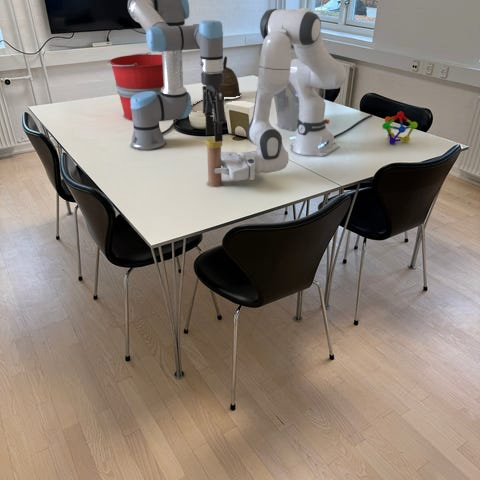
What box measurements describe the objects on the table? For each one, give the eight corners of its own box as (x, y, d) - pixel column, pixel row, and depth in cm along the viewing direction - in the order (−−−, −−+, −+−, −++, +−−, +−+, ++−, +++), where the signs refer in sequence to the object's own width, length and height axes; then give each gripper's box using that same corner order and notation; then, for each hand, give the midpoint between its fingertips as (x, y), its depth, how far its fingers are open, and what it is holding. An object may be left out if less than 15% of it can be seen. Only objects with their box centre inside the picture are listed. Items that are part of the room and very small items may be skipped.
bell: (227, 105, 294) (202, 96, 282) (238, 66, 289) (213, 55, 277) (243, 108, 280) (217, 98, 268) (255, 66, 275) (229, 55, 263)
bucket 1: (123, 105, 263) (116, 51, 247) (182, 106, 262) (179, 52, 247) (107, 123, 234) (97, 63, 218) (173, 124, 233) (168, 64, 217)
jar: (223, 185, 170) (223, 142, 161) (211, 187, 168) (209, 144, 159) (218, 180, 174) (217, 138, 165) (206, 182, 172) (205, 139, 163)
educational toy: (377, 146, 209) (379, 114, 202) (384, 138, 219) (386, 107, 211) (411, 149, 202) (415, 116, 195) (417, 141, 212) (420, 109, 204)
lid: (224, 146, 161) (224, 141, 160) (209, 149, 159) (209, 143, 158) (218, 141, 166) (218, 136, 165) (203, 143, 164) (203, 138, 163)
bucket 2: (296, 138, 215) (301, 78, 201) (255, 124, 234) (256, 68, 219) (335, 125, 232) (342, 70, 217) (294, 113, 251) (297, 61, 236)
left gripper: (191, 67, 156) (194, 131, 167) (213, 78, 140) (215, 148, 151) (211, 65, 158) (213, 128, 170) (234, 76, 142) (235, 144, 154)
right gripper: (239, 146, 177) (205, 150, 174) (255, 165, 161) (218, 169, 157) (239, 161, 180) (206, 165, 177) (255, 181, 164) (219, 185, 160)
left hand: (214, 137), depth 161 cm, fingers open, 8 cm apart
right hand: (212, 167), depth 167 cm, fingers closed on jar, 5 cm apart
